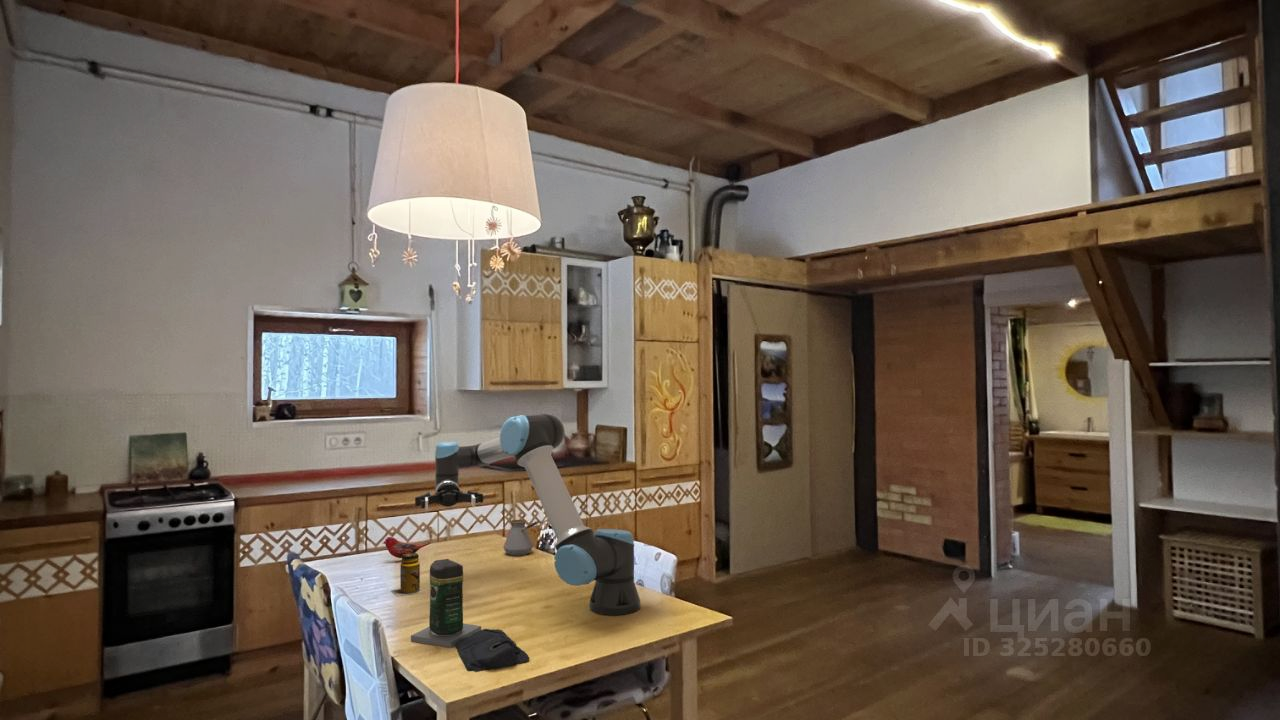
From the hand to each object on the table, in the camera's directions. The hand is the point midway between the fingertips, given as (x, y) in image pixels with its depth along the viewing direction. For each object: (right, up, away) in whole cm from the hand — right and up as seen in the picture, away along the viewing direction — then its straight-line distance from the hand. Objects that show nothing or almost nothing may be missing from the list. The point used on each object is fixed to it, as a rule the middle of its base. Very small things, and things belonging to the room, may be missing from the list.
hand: (450, 504), depth 217 cm
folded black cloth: (+18, -32, -33) cm, 49 cm away
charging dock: (+4, -31, -20) cm, 38 cm away
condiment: (-20, -33, +21) cm, 44 cm away
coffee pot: (+11, -34, +68) cm, 77 cm away
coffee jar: (+4, -30, -20) cm, 37 cm away
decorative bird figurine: (-32, -34, +61) cm, 77 cm away
